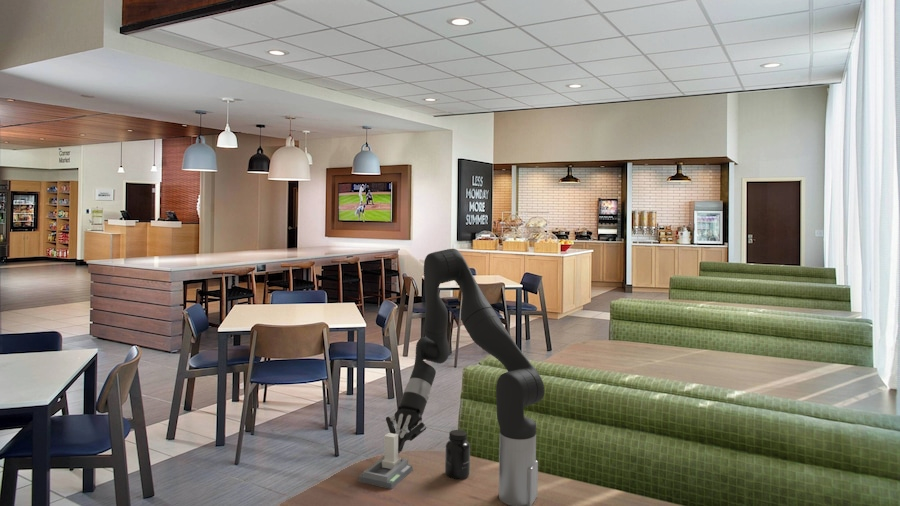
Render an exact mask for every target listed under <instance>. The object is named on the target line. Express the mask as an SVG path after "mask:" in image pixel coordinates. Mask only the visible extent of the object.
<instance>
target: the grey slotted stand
mask: <svg viewBox="0 0 900 506" xmlns="http://www.w3.org/2000/svg"><path fill="white" fill-rule="evenodd" d="M400 458H401V462H400V463H399V464H397V465H396V466H395V467H394V468H393V469H388V468H383V467H382V460H384V455H383V456H382V457H381V458H379V459H377V460H376V461H375V462H374V463H373V464H371V465H370V466H369V467H368V468H366V469H365V470H364V471H362V473H361V474H360V475H359V476H358V482H359V483H363V484H367V485H372V486H377V487H381V488H386V489H389V490H392V489H393V488H394V487H396V485H398V484H399V483H400V482H402V481H403V479H405V478H406V477H408V475H409V474H410V473H411V472H413V464H412V465H411V464H409V459H407V458H404V457H400Z"/></svg>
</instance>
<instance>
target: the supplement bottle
mask: <svg viewBox="0 0 900 506" xmlns="http://www.w3.org/2000/svg"><path fill="white" fill-rule="evenodd" d="M467 435H468V433H467V431H465V430H464V429H452V430H451V431H449V437H448V441H447V442H446V443H445V458H444V459H445V462H444V463H445V464H444V466H445V467H444V471H445V476H447V478H449V479H452V480H463V479H466V478H468V477H469V476H470V471H471V469H470V468H471V467H470V466H471V443H469V441H468V436H467Z"/></svg>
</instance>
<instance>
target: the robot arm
mask: <svg viewBox="0 0 900 506" xmlns="http://www.w3.org/2000/svg"><path fill="white" fill-rule="evenodd" d="M453 281H454V282H456V284H457V285H458V287H459V289H460V292H461V297H462V299H461V308H460V309H461V310H460V318H461V322H462V325H463V326H464V328H465V330H466V331H467V333H468V334H469V336H470V339H471V340H472V341H473V343H475V344H476V345H477V346H479V348H480V349H482V350H483V351H485V352H487V353H488V354H489V355H491V356H492V357H494V359H496V360H498V361H499V363H501V365H503V367H504V368H505V369H506V372H504V373H502V374H500V375H499V376H498V378H497V381H496V386H495V387H496V389H495V397H496V398H495V399H496V401H495V402H496V418H497V422H498V425H499V446H498V447H499V450H498V451H499V452H498V453H499V458H498V460H499V461H498V463H499V464H498V466H499V467H498V498H499V501H500V502H501V503H503V504H505V505H508V506H532V505H533V503H534V502H535V501H536V499H537V498H538V484H539V481H538V480H539V479H538V476H539V475H538V474H539V461H538V460H537V423H536V422H535V421H534V420H533V419H532V418H530V417H527V416H525V415H524V414H525V413H524V412H525V411H524V409H525V408H524V407H528V406H531V405H534V404H536V403H537V404H538V403H539V402H540V401H542V400H543V398H544V396H545V385H544V381H543V380H542V379H543V378H542V376H541V375H540V374H539V372H538V371H537V369H536V368H535V366H534V365H533V363H531V362H530V360H529V359H528V357H526V355H525V354H524V353H523V352H522V350H521V349H520V348H519V347H518V345H517V343H516V342H515V341H514V339H513V338H512V336H511V335H510V333H509V332H508V330H507V329H506V327H505V325H504V324H503V322H502V320H501V319H500V317H499V315H498V314H497V313H496V311H495V310H494V308H493V306H492V305H491V304H490V302H489V301H488V299H487V297H486V296H485V295H484V293H483V291H482V289H481V288H480V286H479V284H478V282H477V281H476V278H475V277H474V275H473V272H472V271H471V268H470V267H469V265H468V263H467V261H466V259H465V257H464V256H463V254H462V252H460V251H459V250H458V249H456V248H447V249H443V250H438V251H434V252H431V253H428V254H427V255H426V256H425V257H424V263H423V283H424V296H425V298H424V299H425V300H424V301H425V312H424V313H425V316H424V320H423V321H424V323H423V334H424V336H422V337H421V338H419V339H418V341H417V342H416V345H415V358H414V365H413V369H412V372H411V374H410V377H409V380H408V382H407V383H406V385H405V388H404V390H403V393H402V397H401V399H400V402H399V404H398V409H397V410H396V411H395V412H394V415H392V416H387V417H386V418H385V421H386V423H387V427H388V430H389V433H393V434H398V454H400V452H403V449H404V445H405V443H406V442H407V441H409V442H411V441H413V440H414V439H415V438H417V437H418V436H420V435H421V434H422V433H424V431H426V429H427V426H426V425H425V424H424V422H422V421H423V418H422V417H423V414H424V412H425V409H426V406H427V403H428V400H429V397H430V394H431V390H432V387H433V383H434V380H435V377H436V369H435V368H434V367H433V366H432V365H430V364H429V363H427V362H426V361H428V362H432V363H435V364H443V363H445V362H446V361H447V360H448V358H449V355H450V346H449V340H448V335H447V329H448V321H449V312H448V308H447V306H446V305H445V302H444V301H443V299H442V298H441V297H440V294H439V289H440V285H441V284H445V283H448V282H453ZM395 424H396V427H395Z"/></svg>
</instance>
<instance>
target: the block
mask: <svg viewBox="0 0 900 506" xmlns="http://www.w3.org/2000/svg"><path fill="white" fill-rule="evenodd" d="M383 438H384V440H383V441H384V443H383V445H384V446H383V447H384V453H383V454H384V455H383V456H384V460H382V467H383V468H388V469H393V468H394V467H395V466H396V465H397V464H399V463H400V462H401V458H402V457H399V453H398V434H393V433H390V432H388V433H386V434H385V435H384V437H383Z"/></svg>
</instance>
